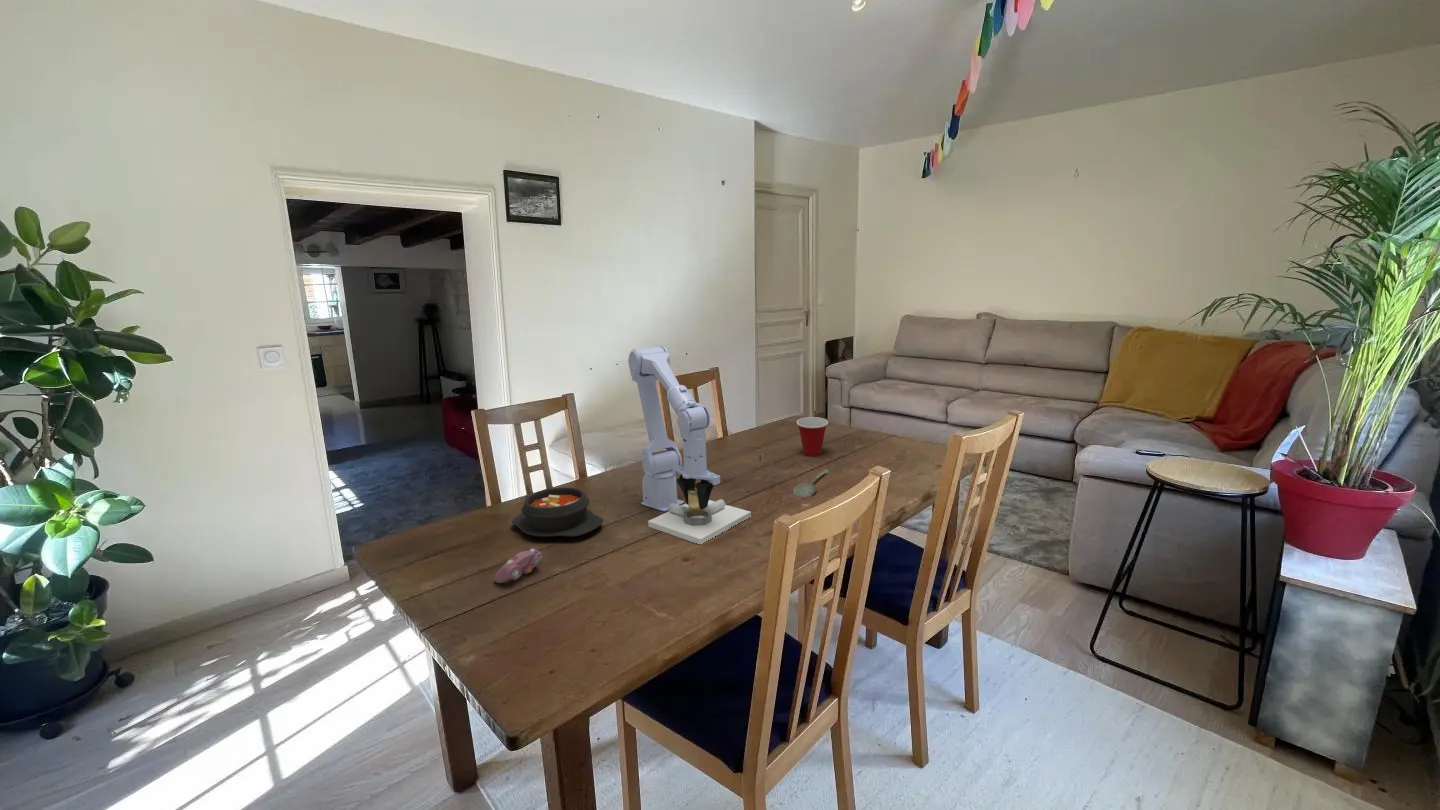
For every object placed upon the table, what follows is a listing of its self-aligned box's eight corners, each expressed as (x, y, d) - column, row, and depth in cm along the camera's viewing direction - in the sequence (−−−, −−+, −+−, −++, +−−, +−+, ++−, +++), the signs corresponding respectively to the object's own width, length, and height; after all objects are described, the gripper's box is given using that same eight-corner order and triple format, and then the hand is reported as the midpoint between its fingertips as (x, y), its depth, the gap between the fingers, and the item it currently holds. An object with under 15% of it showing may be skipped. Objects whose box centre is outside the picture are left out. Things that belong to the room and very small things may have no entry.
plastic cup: (796, 458, 203) (795, 424, 200) (797, 449, 213) (797, 416, 211) (828, 459, 201) (828, 424, 198) (827, 449, 211) (828, 417, 209)
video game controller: (504, 593, 125) (511, 570, 122) (491, 580, 127) (497, 556, 124) (541, 573, 133) (548, 550, 130) (527, 560, 135) (534, 538, 132)
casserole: (618, 521, 156) (616, 491, 154) (571, 551, 140) (568, 518, 138) (547, 507, 167) (544, 479, 166) (495, 533, 151) (491, 502, 149)
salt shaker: (684, 511, 151) (683, 489, 150) (696, 507, 154) (695, 485, 152) (696, 516, 148) (695, 493, 147) (708, 511, 151) (707, 488, 150)
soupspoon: (788, 498, 171) (810, 503, 168) (789, 487, 170) (810, 492, 167) (816, 472, 189) (836, 476, 186) (817, 462, 188) (837, 466, 185)
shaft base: (648, 526, 152) (647, 512, 151) (699, 502, 167) (699, 489, 166) (700, 545, 141) (700, 529, 140) (751, 517, 156) (750, 503, 155)
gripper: (662, 453, 149) (665, 504, 152) (706, 463, 140) (708, 517, 143) (681, 446, 155) (684, 495, 158) (725, 456, 145) (726, 508, 148)
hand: (697, 505), depth 151 cm, fingers closed on salt shaker, 4 cm apart
